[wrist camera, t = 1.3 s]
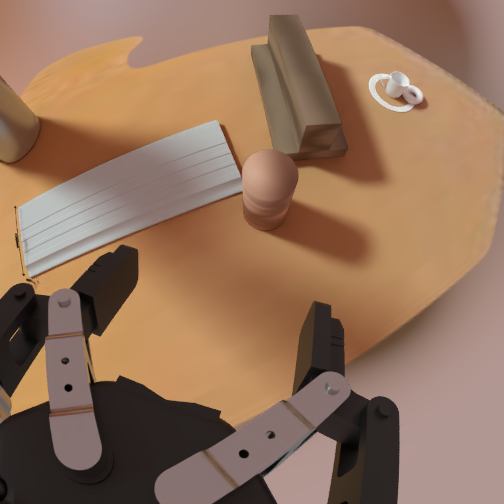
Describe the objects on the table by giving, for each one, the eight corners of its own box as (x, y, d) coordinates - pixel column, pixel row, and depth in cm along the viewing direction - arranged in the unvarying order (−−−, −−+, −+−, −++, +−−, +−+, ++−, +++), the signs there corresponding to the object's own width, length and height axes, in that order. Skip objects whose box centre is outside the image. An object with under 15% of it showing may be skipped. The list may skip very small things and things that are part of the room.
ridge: (276, 162, 39) (282, 127, 31) (251, 54, 43) (251, 16, 35) (344, 155, 40) (362, 122, 32) (307, 51, 44) (314, 14, 36)
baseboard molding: (249, 203, 39) (217, 125, 41) (250, 193, 36) (216, 113, 38) (34, 288, 36) (23, 210, 38) (22, 286, 33) (12, 204, 36)
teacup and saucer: (422, 96, 43) (432, 82, 39) (410, 125, 42) (421, 111, 38) (377, 68, 44) (385, 52, 40) (360, 94, 42) (368, 78, 38)
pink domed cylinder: (246, 233, 37) (246, 203, 28) (240, 193, 38) (238, 153, 29) (289, 227, 38) (303, 195, 28) (281, 188, 39) (292, 146, 29)
